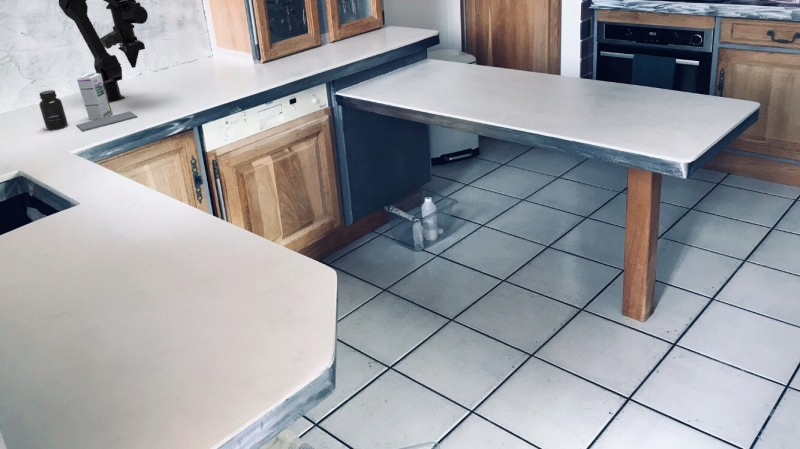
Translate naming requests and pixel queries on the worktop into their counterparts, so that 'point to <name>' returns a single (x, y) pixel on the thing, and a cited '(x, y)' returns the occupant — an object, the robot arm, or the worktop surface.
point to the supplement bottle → (52, 111)
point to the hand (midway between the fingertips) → (133, 67)
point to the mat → (106, 121)
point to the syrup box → (94, 96)
